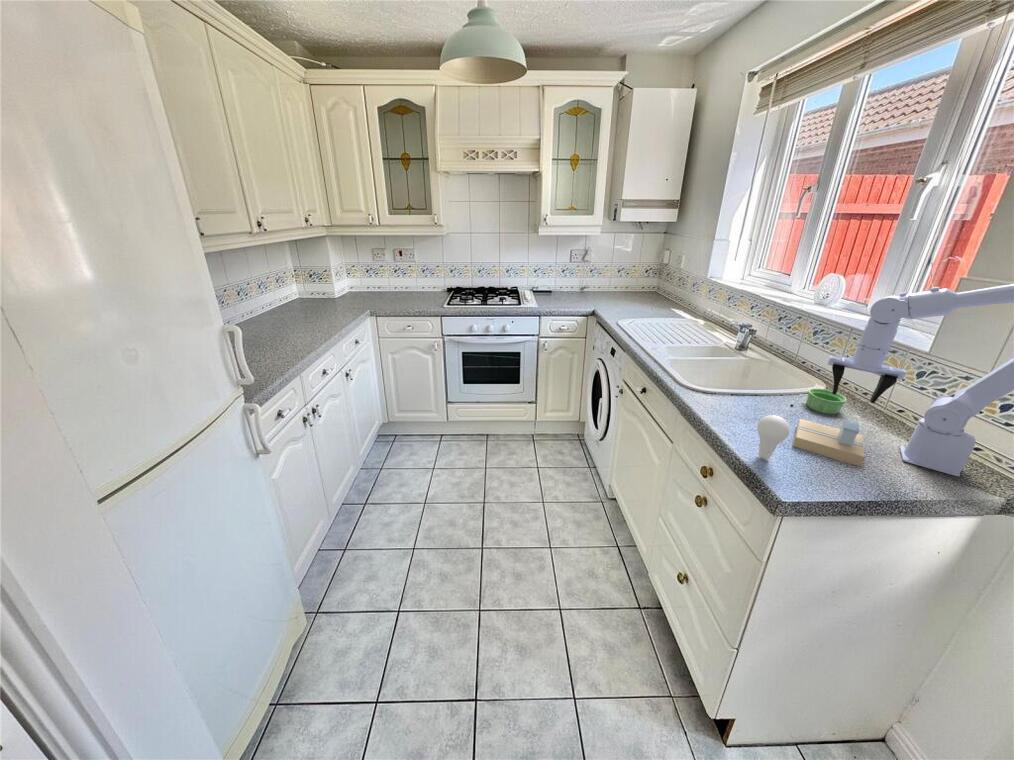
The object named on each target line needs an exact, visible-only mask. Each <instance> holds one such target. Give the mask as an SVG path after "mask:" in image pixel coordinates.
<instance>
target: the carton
mask: <svg viewBox="0 0 1014 760" xmlns="http://www.w3.org/2000/svg"><path fill="white" fill-rule="evenodd" d="M840 430H841V428H837V427H833V426H830V425H829V426H828V425H824V424H822V423H818V422H815V421H811V420H807V419H803V418H799V421H798V423H797V426H796V430H795V435H794V438H793V443H792V446H793V447H795V448H797V449H801V450H805V451H807V452H808V451H809V452H810V453H815V454H818V455H820V456H824V457H828V458H831V459H835V460H837V461H840V462H844V463H848V464H851V465H853V466H858V467H861V465H862V463H863V461H864V459H865V446H864V438H863V434H859V433H858V434H857V435H856V437H855V440H854V442H853V444H852V446H849V445H845V444H842V443H838V439H839V432H840Z"/></svg>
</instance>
